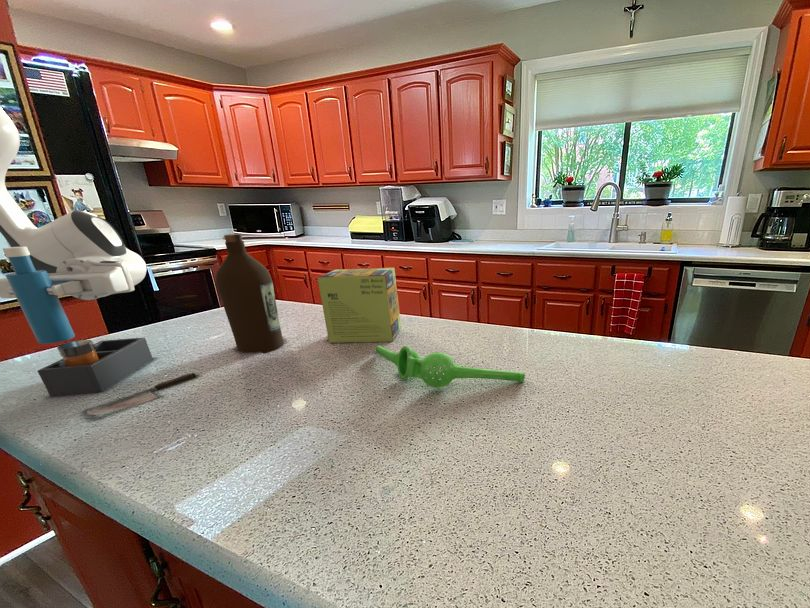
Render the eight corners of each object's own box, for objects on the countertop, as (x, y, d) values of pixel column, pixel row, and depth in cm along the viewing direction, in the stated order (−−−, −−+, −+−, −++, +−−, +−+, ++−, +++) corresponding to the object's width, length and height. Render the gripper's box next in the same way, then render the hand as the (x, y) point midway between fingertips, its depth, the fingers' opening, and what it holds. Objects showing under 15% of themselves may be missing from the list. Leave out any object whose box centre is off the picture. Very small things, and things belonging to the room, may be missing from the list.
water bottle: (37, 346, 74) (-10, 250, 67) (39, 339, 78) (-6, 247, 71) (75, 339, 77) (34, 247, 71) (75, 333, 81) (36, 245, 74)
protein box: (393, 341, 92) (385, 275, 86) (328, 343, 93) (315, 277, 87) (402, 328, 102) (395, 267, 96) (343, 329, 102) (332, 268, 96)
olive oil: (228, 358, 86) (192, 238, 76) (244, 342, 95) (214, 233, 86) (280, 352, 88) (252, 235, 78) (290, 337, 97) (267, 231, 88)
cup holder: (154, 361, 85) (145, 337, 83) (103, 394, 71) (90, 366, 69) (111, 365, 84) (101, 340, 82) (51, 399, 70) (36, 370, 68)
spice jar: (76, 392, 71) (56, 350, 68) (76, 384, 74) (57, 344, 71) (109, 383, 74) (92, 343, 71) (108, 376, 77) (91, 338, 74)
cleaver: (92, 418, 61) (82, 409, 64) (95, 424, 62) (85, 415, 64) (204, 377, 73) (192, 371, 76) (206, 382, 74) (194, 376, 76)
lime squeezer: (525, 379, 71) (525, 346, 69) (497, 409, 62) (497, 372, 59) (380, 353, 86) (376, 325, 83) (339, 374, 76) (334, 343, 74)
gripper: (24, 266, 83) (-45, 278, 70) (132, 261, 86) (85, 272, 73) (38, 295, 85) (-26, 312, 73) (143, 290, 88) (99, 305, 76)
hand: (31, 292), depth 73 cm, fingers closed on water bottle, 5 cm apart
